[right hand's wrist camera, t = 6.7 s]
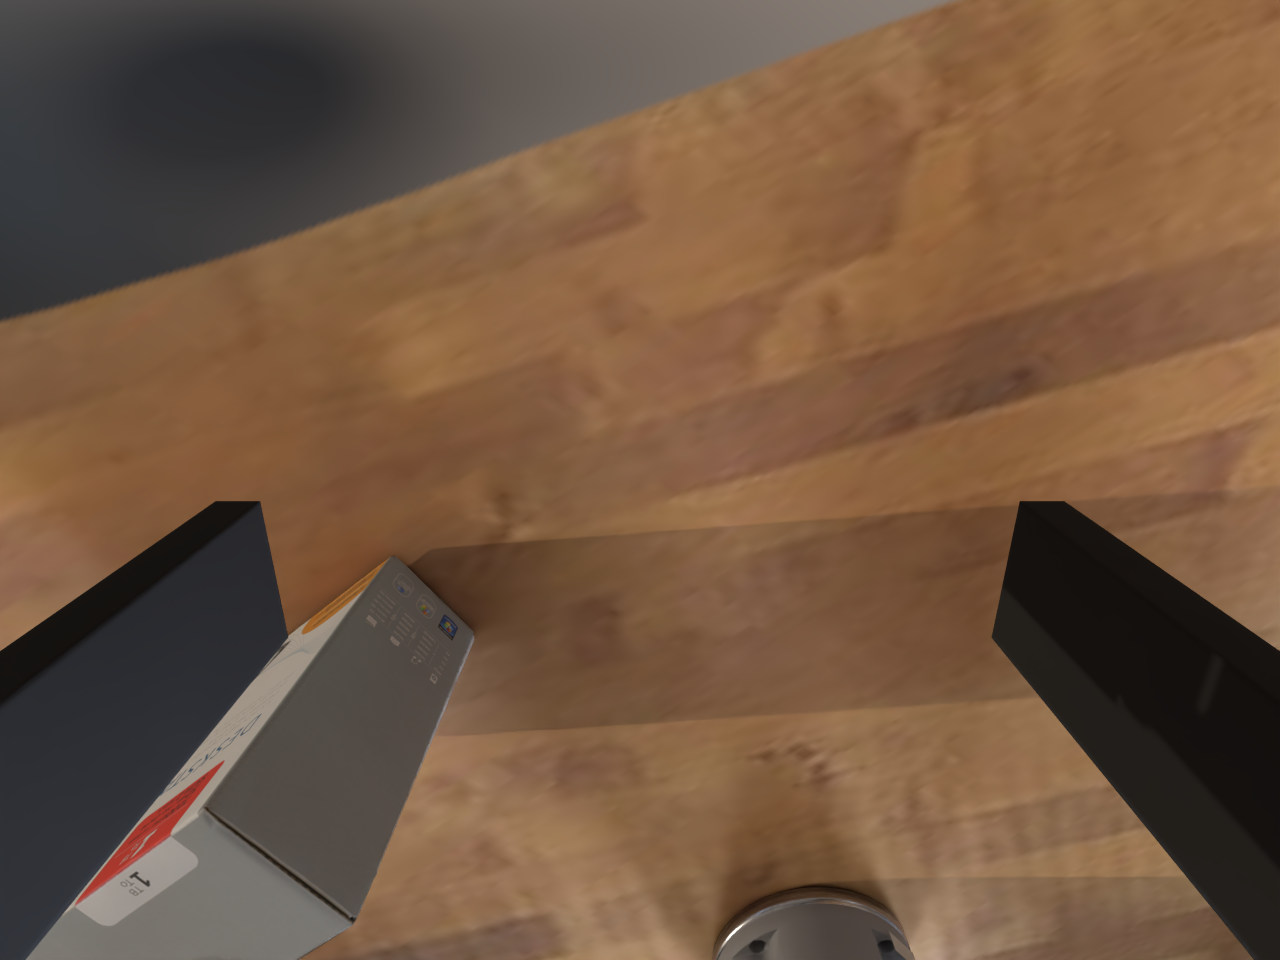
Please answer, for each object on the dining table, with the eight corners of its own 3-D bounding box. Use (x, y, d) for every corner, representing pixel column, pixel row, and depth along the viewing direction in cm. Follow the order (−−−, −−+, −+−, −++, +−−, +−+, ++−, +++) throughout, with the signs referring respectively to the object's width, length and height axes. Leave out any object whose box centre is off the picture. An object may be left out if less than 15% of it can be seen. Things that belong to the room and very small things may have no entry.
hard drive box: (394, 547, 43) (208, 805, 25) (480, 632, 45) (369, 928, 27) (226, 679, 47) (-48, 993, 28) (313, 753, 49) (113, 1088, 30)
